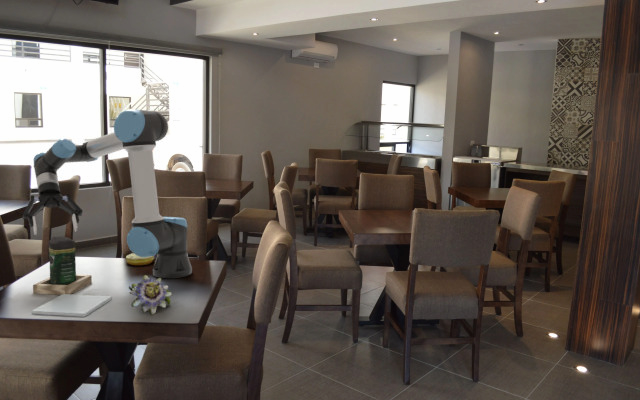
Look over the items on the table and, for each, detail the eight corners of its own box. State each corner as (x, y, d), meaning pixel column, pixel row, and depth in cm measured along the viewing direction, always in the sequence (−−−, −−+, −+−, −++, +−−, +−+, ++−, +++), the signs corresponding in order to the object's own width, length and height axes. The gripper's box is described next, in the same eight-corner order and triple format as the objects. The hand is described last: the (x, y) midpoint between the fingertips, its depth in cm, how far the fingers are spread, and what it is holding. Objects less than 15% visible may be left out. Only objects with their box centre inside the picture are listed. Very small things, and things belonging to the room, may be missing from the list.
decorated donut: (153, 259, 233) (152, 250, 233) (154, 265, 222) (154, 255, 222) (126, 260, 229) (125, 251, 228) (126, 267, 218) (126, 257, 218)
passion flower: (153, 332, 164) (133, 305, 156) (134, 315, 172) (114, 289, 164) (184, 304, 170) (166, 277, 162) (164, 289, 178) (146, 263, 169)
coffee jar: (79, 289, 186) (78, 238, 184) (55, 293, 181) (53, 241, 178) (70, 283, 193) (69, 234, 191) (47, 286, 188) (45, 236, 185)
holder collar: (91, 282, 194) (91, 275, 193) (69, 295, 179) (69, 286, 179) (58, 281, 195) (58, 273, 194) (33, 293, 180) (32, 284, 180)
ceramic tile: (111, 299, 176) (111, 296, 176) (84, 316, 159) (84, 313, 159) (63, 296, 177) (63, 294, 177) (31, 313, 160) (31, 310, 160)
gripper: (81, 191, 213) (90, 234, 203) (11, 194, 198) (17, 240, 188) (84, 180, 208) (93, 222, 198) (12, 181, 193) (18, 228, 183)
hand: (56, 231), depth 193 cm, fingers open, 13 cm apart
